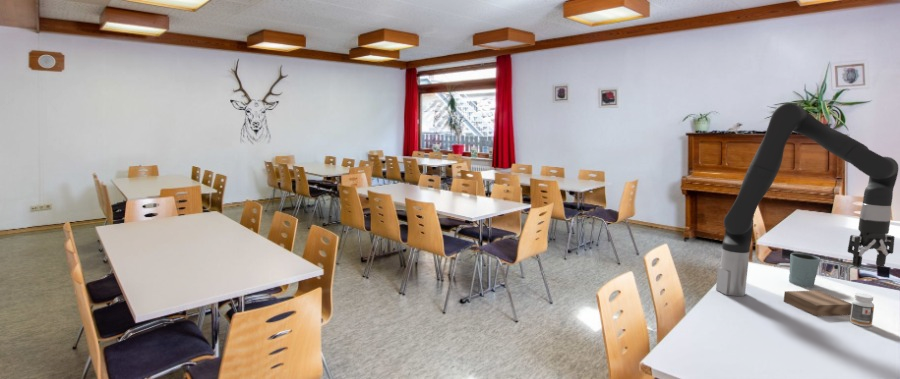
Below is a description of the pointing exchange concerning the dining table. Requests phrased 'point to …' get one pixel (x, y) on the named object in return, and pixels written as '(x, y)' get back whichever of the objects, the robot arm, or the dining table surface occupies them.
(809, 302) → the walnut base
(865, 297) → the pill bottle
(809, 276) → the green plant pot
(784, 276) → the dining table surface
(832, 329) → the dining table surface
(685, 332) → the dining table surface
